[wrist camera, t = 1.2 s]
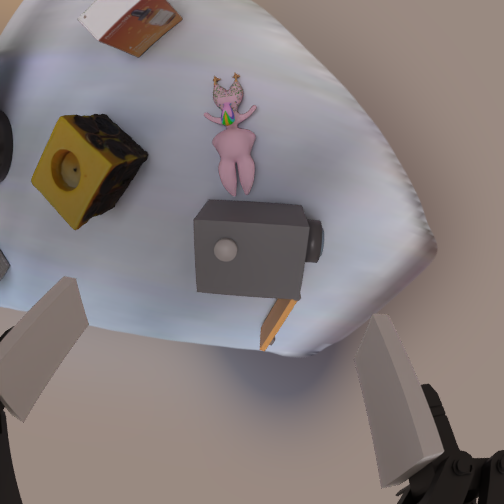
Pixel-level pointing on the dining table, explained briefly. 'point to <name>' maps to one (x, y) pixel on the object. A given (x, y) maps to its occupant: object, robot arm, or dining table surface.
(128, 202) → the dining table surface
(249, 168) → the pink creature figurine
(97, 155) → the candle
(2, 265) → the skincare box
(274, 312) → the side door
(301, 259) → the camera body
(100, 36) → the small box
